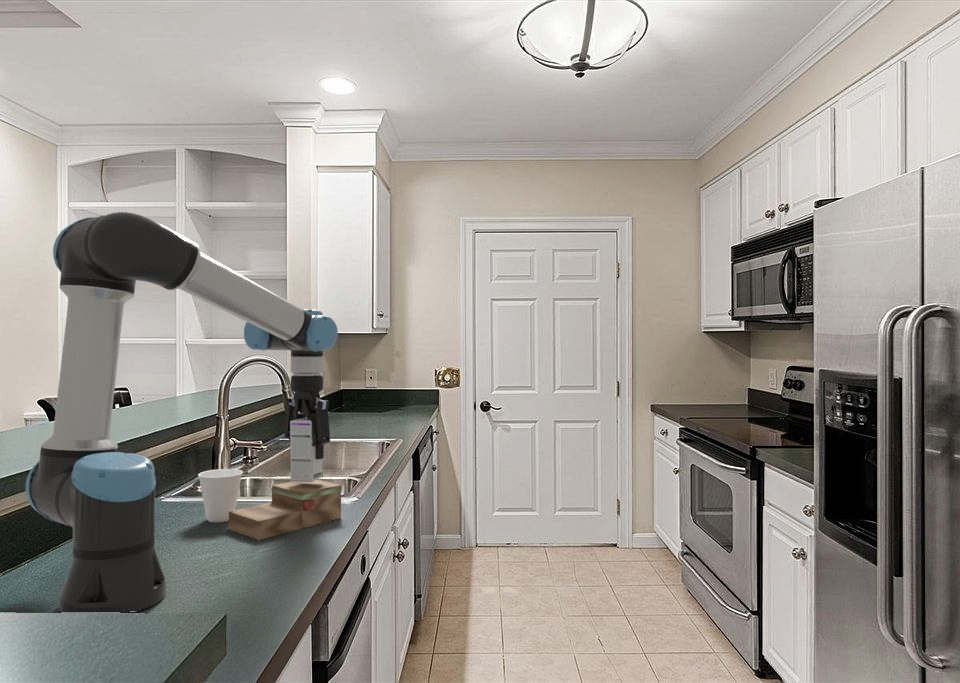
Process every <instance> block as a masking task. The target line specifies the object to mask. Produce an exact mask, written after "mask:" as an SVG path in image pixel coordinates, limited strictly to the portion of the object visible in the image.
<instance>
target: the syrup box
mask: <svg viewBox="0 0 960 683" xmlns="http://www.w3.org/2000/svg"><path fill="white" fill-rule="evenodd" d="M289 442H290V444H289V445H290V446H289V447H290V449H289V451H290V482H292V481H298V482H313V481H315V480H320V479H322V478H323V477H324V471H323V472H321V473H315V474H311V446H312V445H311V444H313V443H314V442H313V438H312V422H311V421H310V420H308V418H306V417H305V418H301V419H296V420H292V421H290V441H289Z"/></svg>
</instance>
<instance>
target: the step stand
mask: <svg viewBox="0 0 960 683" xmlns="http://www.w3.org/2000/svg"><path fill="white" fill-rule="evenodd" d="M342 489H343V487H342V485H341V484H339V483H333V482H331V481H330V482H329V481H326V480H321V479H317V480H315V481H313V482H298V481H288V482H282V483H278V484H272V485H271V502H267V503H261V504H258V505H254V506H253V505H252V506H247V507H244V508H238V509H236V510H234V511H229V521H228V530H229V531H232V532H235V533H238V534H241V535H243V536H246V537H250V538H251V539H255V540H257V541H260V540H263V539H264V540H265V539H267V538H271V537H275V536H280V535H282V534H287V533H291V532H295V531H297V530H301V529H305V528H309V527H313V526H317V524H318V525H321V524H324V522H325V523H328V521H329V522H332V521H331V520H333V521H335V520H334V519H337V520H339V519H338V518H340V519H341V518H342Z"/></svg>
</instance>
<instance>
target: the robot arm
mask: <svg viewBox="0 0 960 683" xmlns="http://www.w3.org/2000/svg"><path fill="white" fill-rule="evenodd" d="M52 255H53V256H52V257H53V260H54V264H55V266H56V268H57V269H58V270H59V272H60V280H59V289H60V291H61V292H63V294H64V295H65V296H66V298H67V300H68V301H67V307H66V308H67V311H66V318H65V327H64V336H63V346H62V354H61V362H60V370H59V379H58V388H57V398H56V405H55V415H54V423H53V432H52V435H51V436H50V437H49V438H48V439H47V440H46V441H44V442H42V443H41V446H40V451H39V453H40V454H39V461H38V462H37V463H36V464H34V465H33V466H32V467H31V469H30V471H29V473H28V475H27V477H26V481H25V495H26V498H27V501H28V503H29V505H30V506H31V507H32V508H33V509H34V511H36V512H37V513H38V514H39V515H41V516H43V517H44V518H45V519H47V520H49V521H51V522H55V523H59V524H63V525H65V526H69V527H70V528H72V559H71V564H70V566H69V569H68V572H67V575H66V577H65V580H64V583H63V586H62V588H61V591H60V594H59V599H58V600H59V601H58V605H59V607H58V611H59V613H60V612H120V613H132V614H135V613H136V612H130V611H138V612H140V609H144V610H146V609H148V608H151V607H152V606H155V605H156V604H158V603H159V602H161V601H162V600H163V599H164V598H165V597H166V594H167V579H166V576H165V573H164V570H163V568H162V565H161V563H160V561H159V557H158V555H157V552H156V548H155V527H156V526H155V522H156V521H155V516H156V514H155V513H156V511H155V508H156V506H155V505H156V500H155V499H156V486H157V480H156V479H157V478H156V475H155V466H154V463H153V462H152V460H150V459H149V458H148V457H146V456H144V455H141V454H137V453H133V452H128V453H124V452H121V451H119V450H118V449H119V445H118V444H117V443H116V442H115V441H114V439H112V438H111V426H112V417H113V416H112V415H113V405H114V396H115V388H116V387H115V386H116V380H117V370H118V360H119V352H120V343H121V341H120V340H121V332H122V324H123V316H124V315H123V314H124V305H125V304H126V303H127V302H129V301H130V300H131V299H133V298H134V297H135V290H136V284H137V282H136V281H140V282H146V283H151V284H154V285H157V286H159V287H161V288H164V290H165V289H166V290H168V291H174V290H177V289H179V290H181V291H182V292H185V293H187V294H188V295H192V296H193V297H195V298H197V299H199V300H201V301H202V302H203V301H204V302H205V303H207V304H209V305H211V306H213V307H216V308H218V309H220V310H222V311H224V312H225V313H228V314H229V315H232V316H234V317H236V318H238V319H240V320H242V321H244V322H245V324H244V327H243V328H244V329H243V338H244V342H245V344H246V346H247V347H248V348H250V349H251V350H254V351H290V373H291V374H293V375H291V377H290V390H291V391H292V392H294V395H293V396H292V397H291V396H290V397H286V399H285V402H286V403H285V404H286V414H285V422H284V423H285V424H284V436H283V437H284V438H285V439H288V441H289V442H290V421H292V420H296V419H301V418H308V420H310V421H311V422H312V438H313V442H314V443H313V444H311V445H312V446H311V474H315V473H321V472H323V473H324V455H325V454H324V448H325V447H324V446H325V444H328V443H331V431H330V420H329V406H330V402H329V400H323V399H322V398H321V396H320V392H322V391H323V390H324V376H323V375H322V374H323V373H324V351H328V350H329V349H331V348H333V347H334V346H335V344H336V342H337V339H338V335H339V330H338V326H337V324H336V322H335V320H334V319H333V318H331V317H330V316H328V315H324V313H323V311H321V310H320V309H319V310H318V309H303V308H301V307H299V306H297V305H295V304H293V303H291V302H290V301H288V300H286V299H285V298H282V297H281V296H279V295H277V294H275V293H274V292H272V291H270V290H269V289H267V288H265V287H263V286H262V285H259V284H258V283H256V282H254V281H252V280H250V279H249V278H247V277H245V276H243V275H242V274H239V273H238V272H236V271H235V270H233V269H231V268H229V267H227V266H226V265H224V264H223V263H220V262H219V261H217V260H215V259H213V258H211V257H209V256H208V255H206V254H204V253H202V252H201V251H200V247H199V245H198V244H197V243H196V242H194V241H192V239H189V238H187V236H186V237H185V236H184V235H182V234H180V233H179V232H177V231H175V230H173V229H171V228H169V227H168V226H166V225H164V224H162V223H160V222H157V221H155V220H153V219H151V218H149V217H146V216H143V215H140V214H137V213H133V212H128V211H127V212H126V211H117V212H111V213H108V214H105V215H101V216H95V217H92V216H91V217H85V218H82V219H78V220H76V221H74V222H72V223H71V224H69V225H68V226H66V227H65V228H64V229H62V230H61V231H60V232H59V233H58V235H57V237H56V239H55V240H54V244H53V248H52Z"/></svg>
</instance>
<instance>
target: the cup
mask: <svg viewBox="0 0 960 683" xmlns="http://www.w3.org/2000/svg"><path fill="white" fill-rule="evenodd" d="M243 473H244V471H243V470H240V469H235V468H219V469H208V470H206V471H205V470H204V471H202V472H200V473H198V474H197V476H198V478H199V485H200V489H201V496H202V501H203V506H204V514H205V519H206V520H207V522H210V523H218V524H219V523H224V522H229V511H234V510H237V509H236V508H237V504H238V496H239V490H240V487H241V486H240V485H241V480H242V475H243Z"/></svg>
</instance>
